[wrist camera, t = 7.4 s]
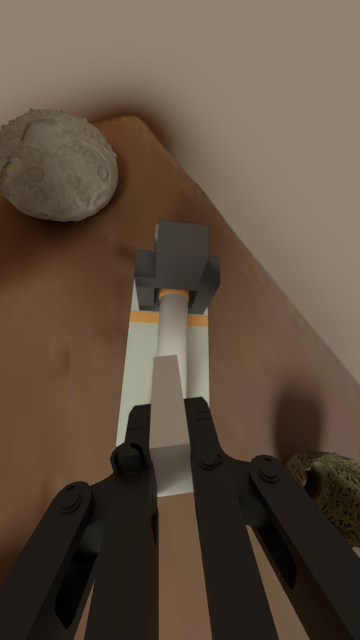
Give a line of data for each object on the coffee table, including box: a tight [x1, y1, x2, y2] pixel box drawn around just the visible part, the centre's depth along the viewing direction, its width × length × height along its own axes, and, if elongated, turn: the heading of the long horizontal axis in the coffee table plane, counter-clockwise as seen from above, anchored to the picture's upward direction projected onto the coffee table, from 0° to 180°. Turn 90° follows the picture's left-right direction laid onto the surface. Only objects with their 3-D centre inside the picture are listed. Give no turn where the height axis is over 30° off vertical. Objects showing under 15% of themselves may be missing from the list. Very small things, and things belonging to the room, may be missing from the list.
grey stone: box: [0, 109, 118, 222], centre depth 35 cm, size 18×18×10 cm
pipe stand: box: [116, 225, 209, 446], centre depth 27 cm, size 24×11×11 cm, turn 178°
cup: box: [285, 451, 360, 550], centre depth 25 cm, size 8×7×8 cm
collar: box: [134, 220, 220, 315], centre depth 24 cm, size 3×8×12 cm, turn 88°
